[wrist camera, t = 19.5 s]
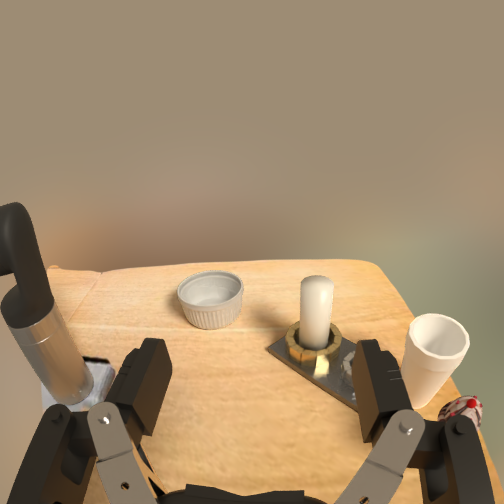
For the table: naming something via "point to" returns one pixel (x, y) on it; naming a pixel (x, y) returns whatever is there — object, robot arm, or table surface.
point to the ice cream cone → (462, 409)
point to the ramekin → (211, 298)
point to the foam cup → (431, 355)
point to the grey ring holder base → (321, 362)
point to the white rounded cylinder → (315, 312)
